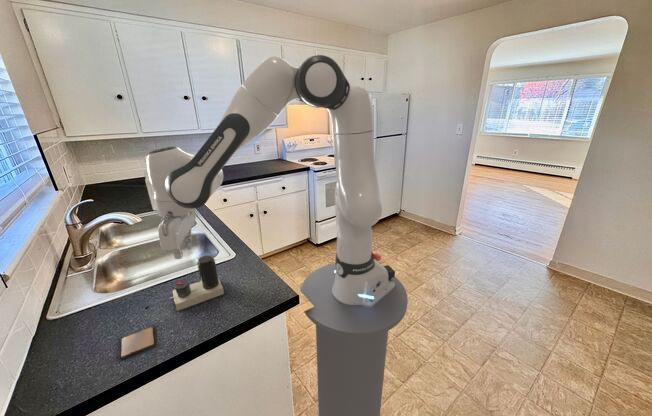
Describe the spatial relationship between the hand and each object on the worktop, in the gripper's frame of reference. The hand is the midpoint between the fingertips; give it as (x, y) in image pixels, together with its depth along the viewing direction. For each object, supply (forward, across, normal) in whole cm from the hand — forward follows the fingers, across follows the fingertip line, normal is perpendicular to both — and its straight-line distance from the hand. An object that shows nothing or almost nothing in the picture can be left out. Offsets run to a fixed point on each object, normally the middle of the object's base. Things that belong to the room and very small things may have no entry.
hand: (184, 249), depth 80 cm
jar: (+16, +3, -5) cm, 17 cm away
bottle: (+20, +102, +45) cm, 113 cm away
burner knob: (+16, 0, +3) cm, 16 cm away
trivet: (+18, -15, +10) cm, 26 cm away
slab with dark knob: (+18, +2, -1) cm, 18 cm away
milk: (+19, +90, +40) cm, 101 cm away
